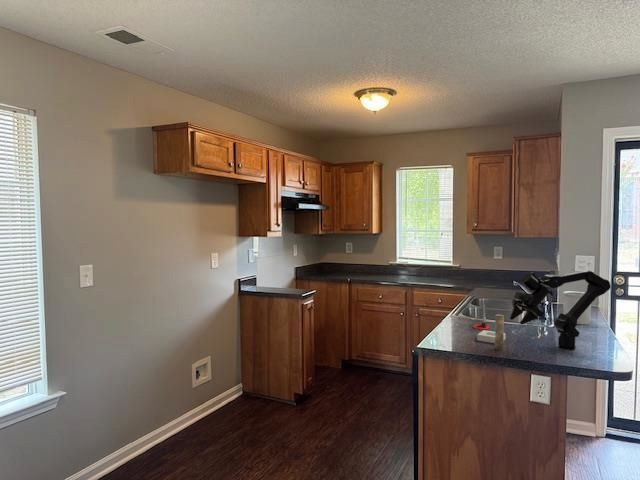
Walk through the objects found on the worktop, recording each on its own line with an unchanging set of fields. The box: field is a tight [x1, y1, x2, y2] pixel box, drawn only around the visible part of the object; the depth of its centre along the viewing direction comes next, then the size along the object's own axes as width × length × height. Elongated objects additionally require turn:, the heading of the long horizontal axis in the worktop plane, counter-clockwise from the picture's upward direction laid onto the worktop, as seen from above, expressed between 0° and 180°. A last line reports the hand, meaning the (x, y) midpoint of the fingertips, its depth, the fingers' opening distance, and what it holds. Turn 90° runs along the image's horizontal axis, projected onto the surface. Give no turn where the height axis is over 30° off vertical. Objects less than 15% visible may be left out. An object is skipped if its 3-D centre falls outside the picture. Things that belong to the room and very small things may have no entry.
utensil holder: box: [562, 290, 592, 325], centre depth 259 cm, size 15×15×18 cm
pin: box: [494, 314, 505, 351], centre depth 204 cm, size 4×4×16 cm
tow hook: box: [472, 304, 491, 331], centre depth 244 cm, size 8×13×9 cm
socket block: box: [476, 330, 507, 344], centre depth 220 cm, size 11×11×3 cm
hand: (515, 321), depth 205 cm, fingers open, 9 cm apart
